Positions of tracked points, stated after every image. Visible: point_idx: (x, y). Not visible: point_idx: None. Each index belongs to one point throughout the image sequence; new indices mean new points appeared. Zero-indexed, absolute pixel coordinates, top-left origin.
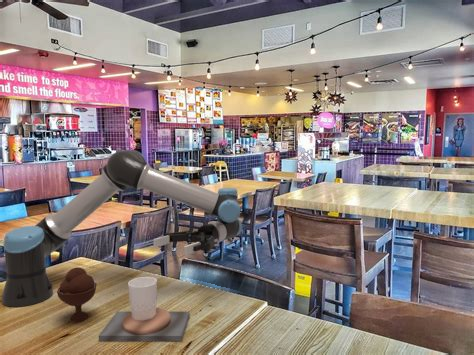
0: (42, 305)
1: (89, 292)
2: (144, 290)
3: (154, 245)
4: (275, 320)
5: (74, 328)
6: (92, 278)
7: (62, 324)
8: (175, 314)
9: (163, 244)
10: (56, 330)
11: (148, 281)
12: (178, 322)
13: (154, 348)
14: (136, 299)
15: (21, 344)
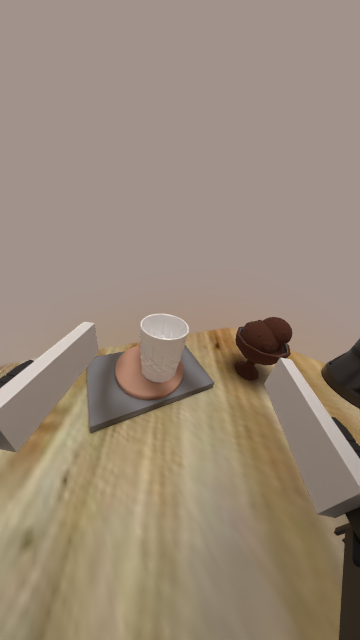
0: (314, 379)
1: (238, 338)
2: (149, 320)
3: (271, 378)
4: None
5: (224, 354)
6: (259, 338)
7: (242, 357)
8: (116, 404)
9: (289, 437)
10: (233, 349)
11: (169, 345)
12: (101, 384)
13: (117, 348)
14: (159, 330)
15: (230, 332)
